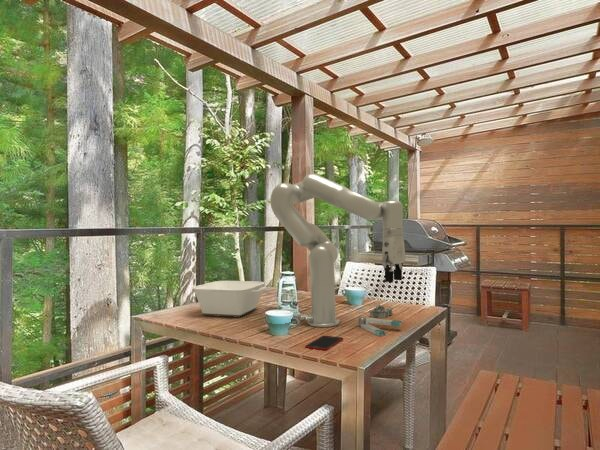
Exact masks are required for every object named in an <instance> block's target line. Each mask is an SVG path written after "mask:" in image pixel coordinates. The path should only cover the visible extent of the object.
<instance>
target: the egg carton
mask: <svg viewBox="0 0 600 450" xmlns="http://www.w3.org/2000/svg"><path fill="white" fill-rule="evenodd" d="M393 309H394V307H390V308H389V307H387V308H385V306H384V305H381V304H377V305H376V306H375V307H374V308H373V309H370V310H369V311H368V312H369V314H370V315H369V318H377V319H386V318H387V317H388V318H389V317H390V316H393Z"/></svg>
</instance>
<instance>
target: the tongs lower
mask: <svg viewBox="0 0 600 450" xmlns="http://www.w3.org/2000/svg"><path fill="white" fill-rule="evenodd" d="M366 319H367V318H366V317H365V316H359V317H358V327H359V328H362V329H364V330H366V331H368V332H370V333H372V334H374V335H375V336H377V337H383V336H384V337H385V336H386V331H385V330H383V329H382V328H378V327H376V326H375V325H372V324H371V323H366Z"/></svg>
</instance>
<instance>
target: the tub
mask: <svg viewBox="0 0 600 450" xmlns="http://www.w3.org/2000/svg"><path fill="white" fill-rule="evenodd" d="M265 283H266V282H264V281H256V280H255V281H254V280H253V281H252V280H250V281H249V280H217V281H216V280H215V281H211V282H208V283H204V284H199V285H195V286H193V287H192V291H194V293H195V296H196V299H197V301H198V304H199V307H200V310H201V313H202V315H203V316H205V315H219V316H236V317H235V318H238V317H239V318H241V317H243V316H245V315H247V314H249V313H251V312H254V311H256V309H257V307H258V304H259V301H260V299H261V295H262V293H263V292H265V291H267V289H268V287H267V286H265ZM250 311H251V312H250ZM248 312H249V313H248ZM246 313H247V314H246ZM244 314H245V315H244ZM242 315H243V316H242ZM240 316H241V317H240Z"/></svg>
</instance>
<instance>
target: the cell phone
mask: <svg viewBox="0 0 600 450" xmlns="http://www.w3.org/2000/svg"><path fill="white" fill-rule="evenodd" d="M343 340H344V338H343V337H342V336H341V337H340V336H334V335H333V336H331V335H321V336H319V337H318V338H316V339H314V340H312V341H311V342H310V343H308V344H306V345H305V346H304V348H305V349H306V348H309V349H308V350H313V349H315V350H314V351H320V350H322V351H321V352H327V351H329V350H330V349H332V348H333V347H335V346H336V345H338V344H340V343H341V342H343Z"/></svg>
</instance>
